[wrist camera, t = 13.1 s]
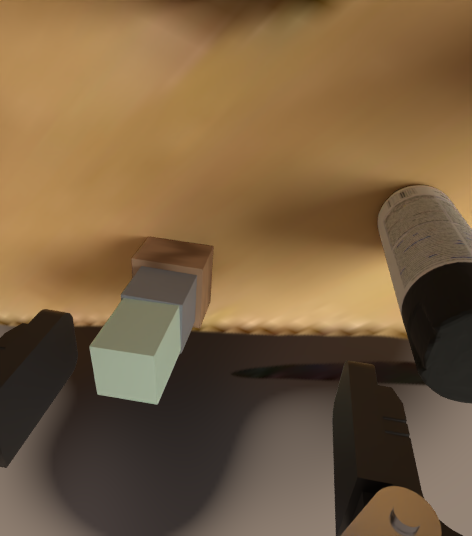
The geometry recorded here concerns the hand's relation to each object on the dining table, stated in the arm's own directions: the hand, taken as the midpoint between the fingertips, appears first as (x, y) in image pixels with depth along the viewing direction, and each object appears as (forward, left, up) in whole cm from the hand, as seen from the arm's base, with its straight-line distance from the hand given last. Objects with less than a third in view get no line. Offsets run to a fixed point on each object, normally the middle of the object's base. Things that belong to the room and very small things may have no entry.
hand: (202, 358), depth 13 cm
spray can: (-14, +4, -30) cm, 34 cm away
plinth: (+6, +17, -30) cm, 35 cm away
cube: (+6, +17, -25) cm, 31 cm away
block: (+6, +17, -20) cm, 27 cm away
